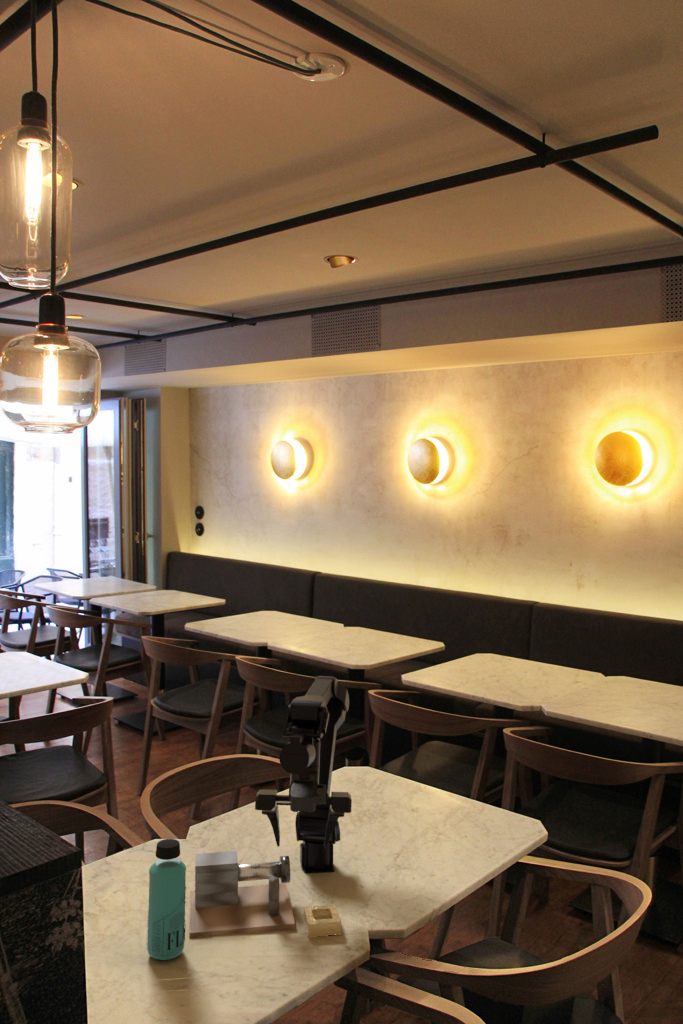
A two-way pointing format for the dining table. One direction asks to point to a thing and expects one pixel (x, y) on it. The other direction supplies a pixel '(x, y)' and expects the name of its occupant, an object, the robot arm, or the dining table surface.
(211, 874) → the shaft stand
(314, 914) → the frame
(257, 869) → the shaft
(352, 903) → the dining table surface
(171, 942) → the beverage bottle
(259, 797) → the robot arm
